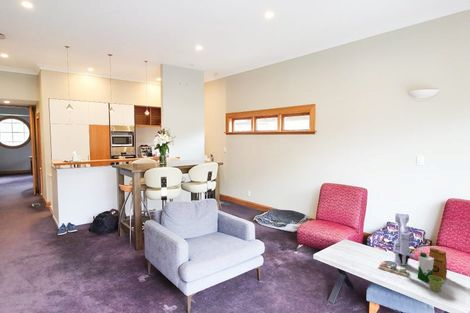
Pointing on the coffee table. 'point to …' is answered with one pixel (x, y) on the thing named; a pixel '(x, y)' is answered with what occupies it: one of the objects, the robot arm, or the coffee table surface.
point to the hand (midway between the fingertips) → (403, 263)
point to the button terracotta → (384, 264)
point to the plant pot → (435, 283)
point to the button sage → (403, 270)
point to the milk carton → (425, 267)
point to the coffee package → (439, 263)
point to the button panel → (393, 270)
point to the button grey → (393, 267)
